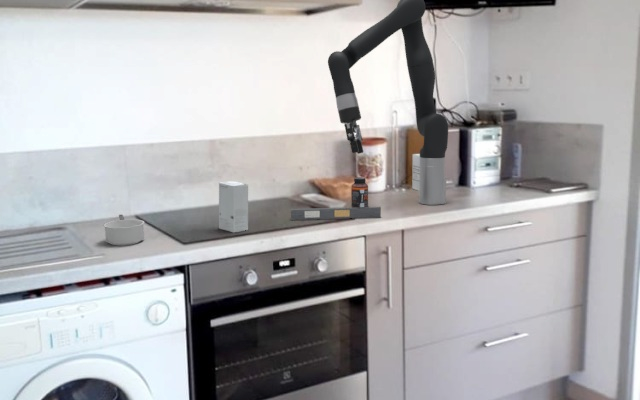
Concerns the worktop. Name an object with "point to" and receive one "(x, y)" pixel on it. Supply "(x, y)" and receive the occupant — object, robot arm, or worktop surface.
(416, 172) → the supplement box
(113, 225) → the saucepan
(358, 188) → the supplement bottle
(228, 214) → the skincare box
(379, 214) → the price rail
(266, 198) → the worktop surface
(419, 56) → the robot arm
